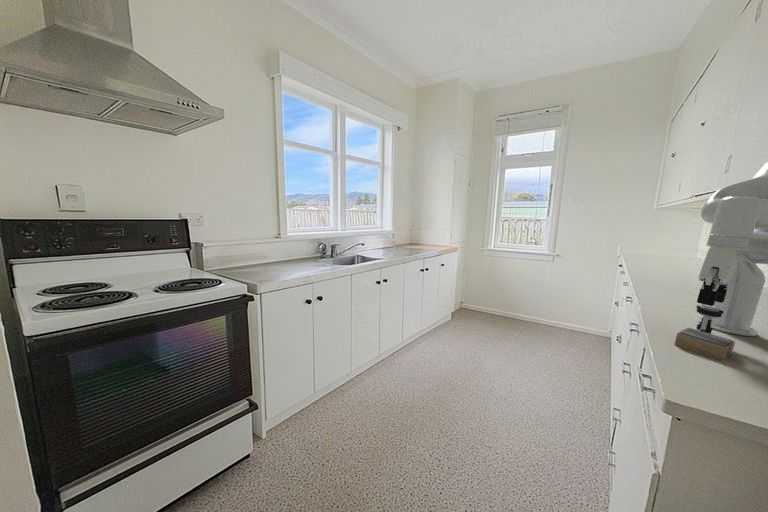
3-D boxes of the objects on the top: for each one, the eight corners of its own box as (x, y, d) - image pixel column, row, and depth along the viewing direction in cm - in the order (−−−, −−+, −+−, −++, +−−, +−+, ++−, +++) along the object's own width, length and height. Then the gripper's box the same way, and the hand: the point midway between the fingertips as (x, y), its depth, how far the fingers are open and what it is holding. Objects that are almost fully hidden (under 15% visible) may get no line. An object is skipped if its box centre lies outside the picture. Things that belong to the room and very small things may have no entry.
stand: (684, 339, 84) (687, 326, 84) (731, 354, 77) (735, 340, 76) (674, 344, 80) (677, 331, 80) (722, 361, 73) (727, 346, 72)
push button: (711, 345, 82) (721, 310, 80) (684, 337, 86) (693, 304, 84) (717, 340, 85) (726, 307, 83) (691, 332, 90) (700, 301, 88)
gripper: (716, 241, 88) (700, 296, 91) (698, 240, 79) (681, 301, 82) (756, 245, 82) (737, 304, 84) (741, 244, 73) (721, 310, 76)
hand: (710, 302), depth 83 cm, fingers open, 9 cm apart
